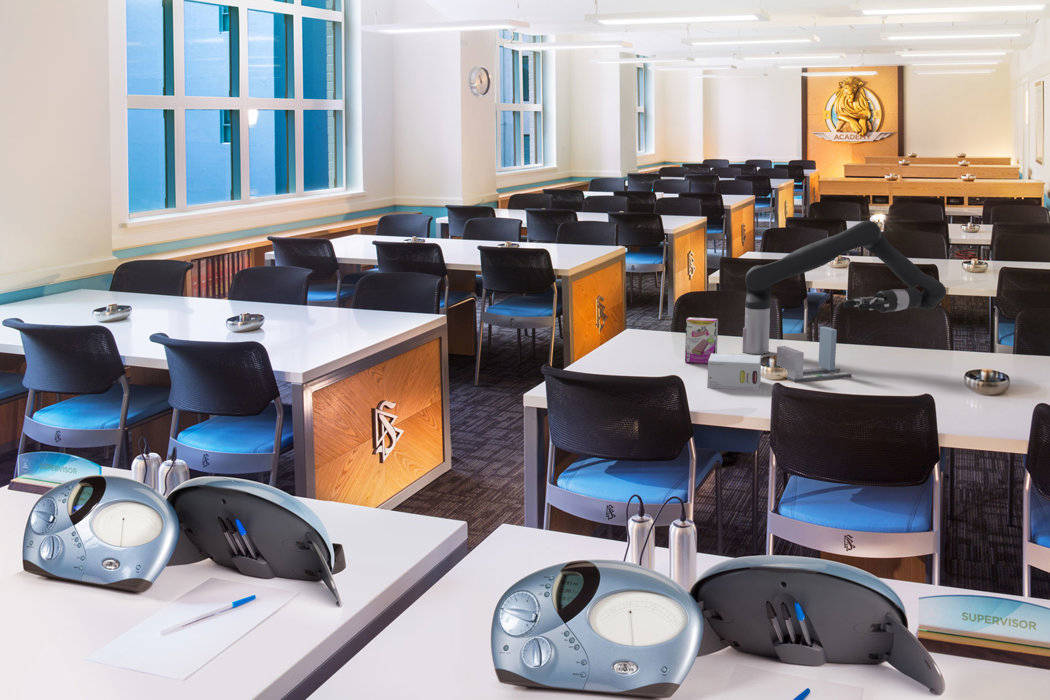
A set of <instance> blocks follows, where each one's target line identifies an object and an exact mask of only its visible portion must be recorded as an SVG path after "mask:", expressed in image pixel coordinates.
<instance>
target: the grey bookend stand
mask: <svg viewBox="0 0 1050 700" xmlns="http://www.w3.org/2000/svg"><path fill="white" fill-rule="evenodd" d="M804 354H805V353H804V351H801V350H798V349H794V348H792V347H789V346H786V345H782V346H781V345H780V346H776V365H777V366H780V367H782V368H785V369H786V370H787V372H788V374H787V379H786V380H788V381H790V382H793V383H800V382H801V383H802V382H812V381H811V380H814V381H820V380H819V379H825V380H833V379H834V378H836V379H844V378H843V377H847V378H853V377H852V373H850V372H847V371H844V370H841V368H840V367H835V370H834V371H837V372H839V373H835V372H832V370H827V369H825V368H822V367H818V368H808V369H804ZM834 380H835V379H834Z"/></svg>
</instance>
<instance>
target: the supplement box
mask: <svg viewBox="0 0 1050 700" xmlns="http://www.w3.org/2000/svg"><path fill="white" fill-rule="evenodd" d="M761 371H762V354H731V353H729V354H728V353H717V354H714V353H711V355H710V358H709V360H708V364H707V385H706V388H710V389H711V388H712V389H713V388H714V389H733V390H734V389H735V390H754V391H755V390H756V391H759V390H760V385H761V376H762V375H761V373H762V372H761Z"/></svg>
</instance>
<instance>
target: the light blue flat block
mask: <svg viewBox="0 0 1050 700" xmlns="http://www.w3.org/2000/svg"><path fill="white" fill-rule="evenodd" d="M837 331H838V330H837V329H835V328H832V327H828V326H820V327H819V344H818V345H819V347H818V368H825V369H827V370H832V372H835V373H839V372H837V371H834V370H835V368H836V353H837V352H836V351H837Z"/></svg>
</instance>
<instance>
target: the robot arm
mask: <svg viewBox="0 0 1050 700" xmlns="http://www.w3.org/2000/svg"><path fill="white" fill-rule="evenodd" d="M858 248H863V249H865V250H867V251H868V252H870V253H871V254H873V255H874V256H876V257H877V258H878V259H879V260H881V262H883V263H884V265H886V266H887V267H888V268H889V270H890V271H891V272H893V274H894V275H895V276H896V277H898V279H900V280H901V282H903V284H905V285H906V286H907V288H903V289H899V288H898V289H897V288H896V289H888V290H879V291H878V292H876V294H875V296H862V297H854V298H853V297H852V298H851V299H850V300H845V301H844V302H843V308H846V309H847V308H853V307H854V308H856V307H857V309H858V311H878V312H880V313H881V314H882V313H883V314H884V313H891V312H897V311H898V312H899V311H902V310H908V309H921V310H931V309H934V308H936V307H938V305H939V303H941V301H942V300H943V299H944V298H945V297H946V295H947V289H946V287H945V285H944V284H943V283H942V281H939V280H937V279H936V278H934V277H932V276H930V275H928V274H926V273H925V272H923V270H921V269H920V268H919V267H918V266H917V265H916V264H915V263H913V262H912V261H911V260H910V259H909V258H907V257H906V256H905V255H904V254H902V253H901V252H900V251H898V250H897V249H896V248H895V247H894V246H893V245H892V244H891V243H890V242H889V241H888V239H887V238H886V237H885V235H884V234H883V233H882V230H881V228H880V226H879V225H878V224H877V223H876V222H874V221H872V220H864V221H861V222H859V223H857V224H855V225H853V226H851V227H849V228H847V229H846V230H843V231H841V232H839V233H837V234H834V235H831V236H829V237H826V238H822V239H819V240H817V241H815V242H812V243H809V244H806V245H805V246H802V247H800V248H797V249H795V250H793V251H792V252H790V253H789V254H787V255H785V256H784V257H782V258H779V259H778V260H776V261H773V262H770V263H767V264H764V265H762V264H757V265H754V266H752V267H750V269H748V271H747V272H746V274H745V279H744V282H745V285H746V295H745V302H744V303H745V304H744V305H745V306H744V309H745V311H744V313H745V314H744V327H743V328H742V353H746V354H750V355H763V354H764V353H765V354H768V353H769V352H770V351H769V350H770V349H769V348H770V323H771V322H770V321H771V319H770V317H771V301H772V285H775V284H777V283H779V282H781V281H783V280H786V279H789V278H792V277H794V276H799V275H802V274H804V273H805V274H806V273H807V272H810V271H813V270H816V269H818V268H820V267H822V266H825V265H827V264H829V263H831V262H832V261H833V260H835V259H837V258H838V257H840V256H841V255H844V254H845V253H847V252H849V251H852V250H855V249H858ZM917 287H920V288H922V289H923V290H922V291H920V289H918V288H917Z"/></svg>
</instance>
